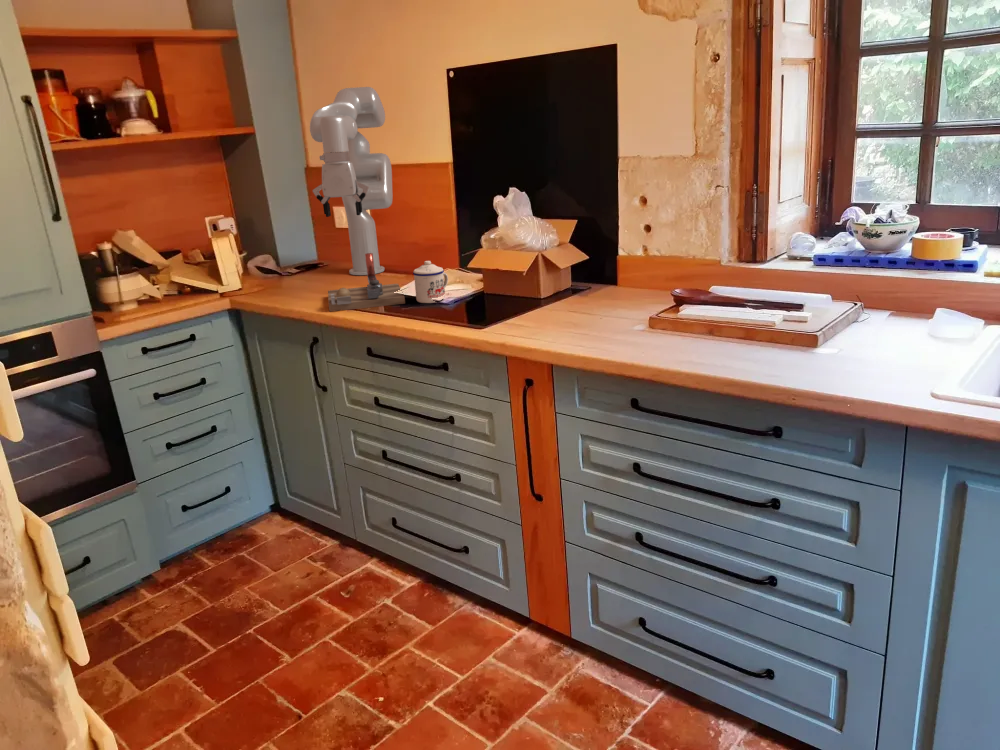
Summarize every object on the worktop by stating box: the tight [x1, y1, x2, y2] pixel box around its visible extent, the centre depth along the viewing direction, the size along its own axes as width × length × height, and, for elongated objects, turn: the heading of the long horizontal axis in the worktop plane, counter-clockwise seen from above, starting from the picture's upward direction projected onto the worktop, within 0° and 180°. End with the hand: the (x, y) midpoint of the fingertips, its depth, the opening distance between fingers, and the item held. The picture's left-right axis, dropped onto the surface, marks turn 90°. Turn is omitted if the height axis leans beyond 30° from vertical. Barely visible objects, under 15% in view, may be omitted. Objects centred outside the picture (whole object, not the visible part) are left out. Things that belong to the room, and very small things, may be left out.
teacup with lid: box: [412, 260, 449, 304], centre depth 225 cm, size 12×9×12 cm
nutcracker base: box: [327, 279, 406, 312], centre depth 229 cm, size 21×22×6 cm
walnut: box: [336, 287, 350, 297], centre depth 221 cm, size 4×4×4 cm
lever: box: [365, 253, 383, 299], centre depth 230 cm, size 23×5×10 cm, turn 13°
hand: (343, 215), depth 235 cm, fingers open, 9 cm apart
